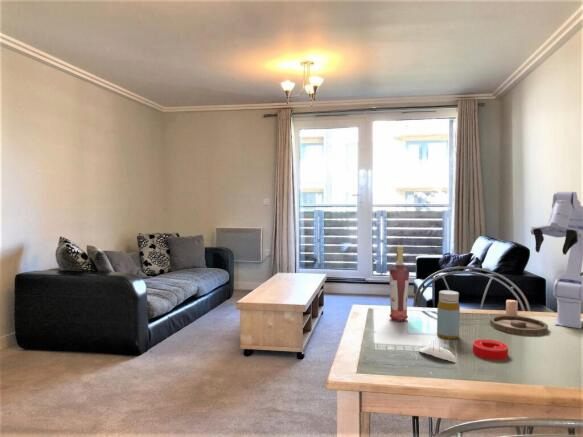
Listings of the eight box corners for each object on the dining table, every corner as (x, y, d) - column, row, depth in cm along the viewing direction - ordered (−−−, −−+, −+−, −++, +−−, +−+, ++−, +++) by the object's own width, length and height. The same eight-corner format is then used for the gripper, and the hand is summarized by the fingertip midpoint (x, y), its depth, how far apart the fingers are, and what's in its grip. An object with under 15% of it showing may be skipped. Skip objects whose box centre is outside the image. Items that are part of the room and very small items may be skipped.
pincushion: (413, 354, 133) (413, 335, 133) (424, 349, 137) (425, 331, 137) (450, 366, 124) (450, 346, 123) (461, 361, 128) (461, 341, 127)
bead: (506, 314, 177) (507, 299, 176) (518, 315, 174) (518, 300, 174) (505, 316, 174) (505, 301, 173) (516, 318, 171) (516, 302, 171)
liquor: (410, 322, 165) (412, 247, 163) (390, 322, 165) (392, 247, 163) (405, 317, 172) (407, 245, 171) (386, 317, 172) (388, 245, 171)
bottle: (436, 338, 147) (437, 293, 146) (437, 332, 154) (438, 289, 153) (458, 340, 144) (459, 295, 144) (459, 334, 151) (460, 291, 150)
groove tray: (496, 317, 172) (496, 312, 172) (549, 325, 162) (549, 320, 162) (485, 328, 157) (486, 323, 157) (543, 338, 147) (544, 333, 147)
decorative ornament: (478, 346, 140) (478, 336, 140) (511, 353, 134) (511, 343, 133) (468, 355, 132) (468, 344, 132) (502, 363, 126) (503, 352, 126)
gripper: (533, 211, 151) (523, 241, 144) (583, 212, 140) (574, 245, 134) (537, 224, 154) (527, 255, 148) (586, 227, 144) (578, 259, 138)
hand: (550, 251), depth 141 cm, fingers open, 7 cm apart
